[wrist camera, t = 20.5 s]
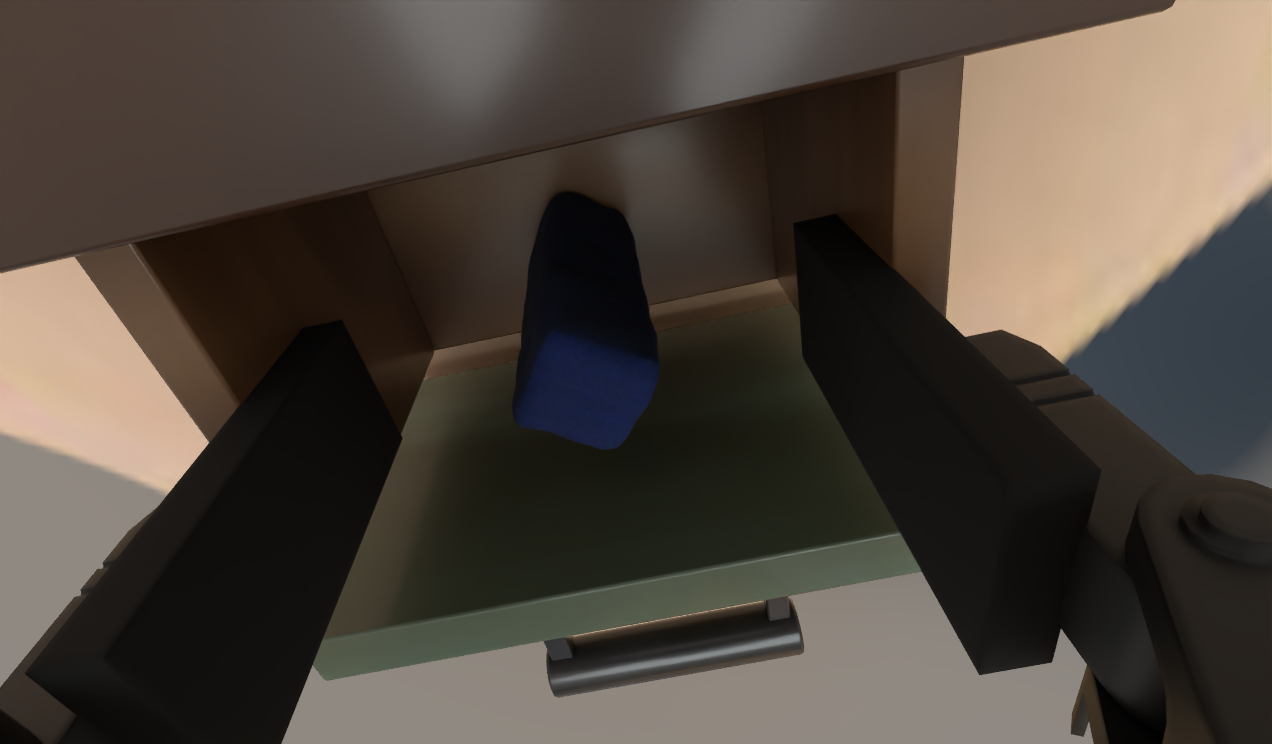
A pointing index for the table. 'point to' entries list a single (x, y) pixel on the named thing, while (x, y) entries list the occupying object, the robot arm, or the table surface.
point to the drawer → (550, 464)
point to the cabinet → (403, 91)
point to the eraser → (585, 328)
